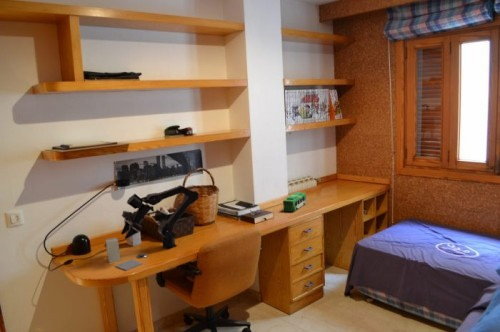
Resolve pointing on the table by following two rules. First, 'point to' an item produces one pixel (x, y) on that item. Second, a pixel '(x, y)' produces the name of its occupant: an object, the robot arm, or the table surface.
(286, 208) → the toy bus
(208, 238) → the table surface
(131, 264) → the slate mat
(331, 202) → the table surface
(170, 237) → the robot arm
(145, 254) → the cable grommet
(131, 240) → the small box
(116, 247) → the sage pillar
